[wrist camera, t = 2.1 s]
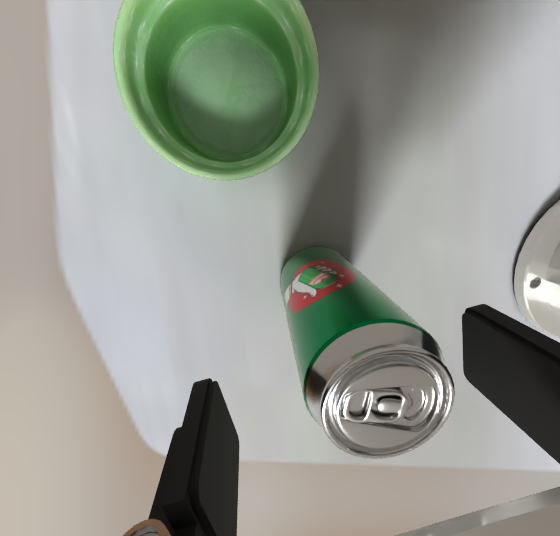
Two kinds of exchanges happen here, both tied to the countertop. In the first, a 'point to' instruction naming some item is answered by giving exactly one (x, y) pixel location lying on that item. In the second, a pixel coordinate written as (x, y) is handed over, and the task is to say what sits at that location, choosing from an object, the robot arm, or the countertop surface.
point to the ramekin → (217, 80)
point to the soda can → (362, 359)
